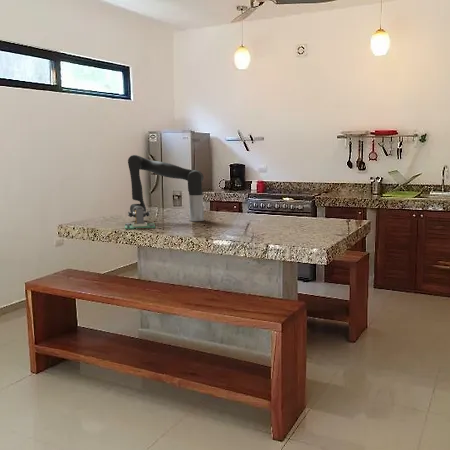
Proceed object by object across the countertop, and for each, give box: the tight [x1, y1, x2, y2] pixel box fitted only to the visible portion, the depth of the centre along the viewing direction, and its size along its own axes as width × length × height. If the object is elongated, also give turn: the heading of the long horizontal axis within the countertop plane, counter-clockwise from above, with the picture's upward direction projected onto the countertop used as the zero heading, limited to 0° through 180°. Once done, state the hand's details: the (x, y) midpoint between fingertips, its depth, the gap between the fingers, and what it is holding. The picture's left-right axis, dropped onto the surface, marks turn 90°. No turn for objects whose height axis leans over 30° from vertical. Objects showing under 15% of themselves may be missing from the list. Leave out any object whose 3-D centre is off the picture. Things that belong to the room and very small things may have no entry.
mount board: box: [124, 221, 156, 230], centre depth 314 cm, size 18×14×3 cm
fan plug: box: [134, 207, 145, 224], centre depth 313 cm, size 5×4×11 cm
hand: (139, 215), depth 310 cm, fingers closed on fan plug, 5 cm apart
